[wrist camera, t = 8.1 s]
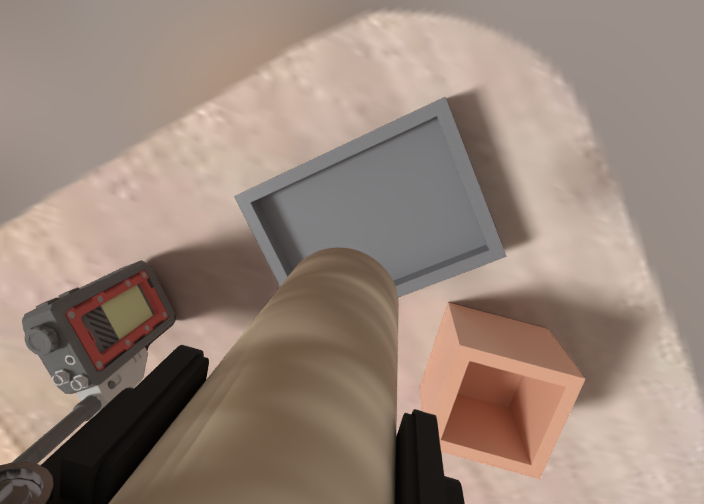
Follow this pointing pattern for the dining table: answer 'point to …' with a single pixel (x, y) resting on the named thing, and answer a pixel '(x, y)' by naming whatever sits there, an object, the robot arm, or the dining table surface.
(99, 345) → the walkie-talkie
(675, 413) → the dining table surface
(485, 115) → the dining table surface
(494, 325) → the terracotta box
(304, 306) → the birch dowel
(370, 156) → the charcoal tray
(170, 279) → the dining table surface
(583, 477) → the dining table surface
